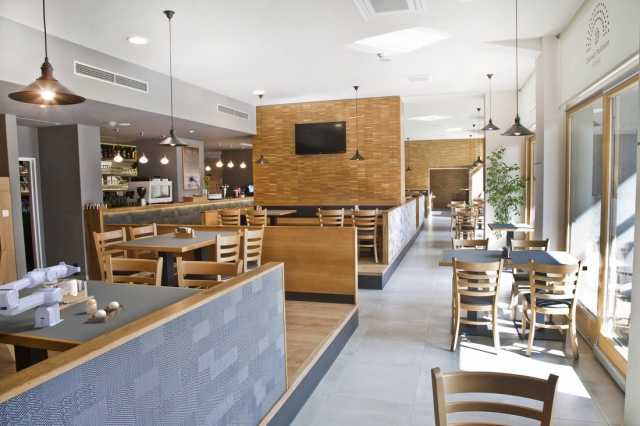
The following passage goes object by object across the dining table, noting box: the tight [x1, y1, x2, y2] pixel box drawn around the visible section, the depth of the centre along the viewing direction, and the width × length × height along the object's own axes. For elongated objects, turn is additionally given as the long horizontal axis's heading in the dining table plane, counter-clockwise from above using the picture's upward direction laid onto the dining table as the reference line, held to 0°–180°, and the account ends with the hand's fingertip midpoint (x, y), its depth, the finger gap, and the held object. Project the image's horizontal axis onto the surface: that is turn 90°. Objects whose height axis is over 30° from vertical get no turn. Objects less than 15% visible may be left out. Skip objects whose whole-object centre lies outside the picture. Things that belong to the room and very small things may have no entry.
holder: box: [87, 303, 127, 324], centre depth 200 cm, size 21×8×3 cm, turn 2°
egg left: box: [94, 309, 106, 318], centre depth 193 cm, size 4×4×4 cm
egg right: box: [108, 301, 120, 309], centre depth 207 cm, size 4×4×4 cm
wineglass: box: [42, 279, 59, 288], centre depth 230 cm, size 7×7×12 cm
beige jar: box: [85, 298, 98, 315], centre depth 206 cm, size 4×4×7 cm
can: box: [62, 277, 78, 296], centre depth 227 cm, size 6×6×12 cm
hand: (73, 268), depth 210 cm, fingers open, 7 cm apart
